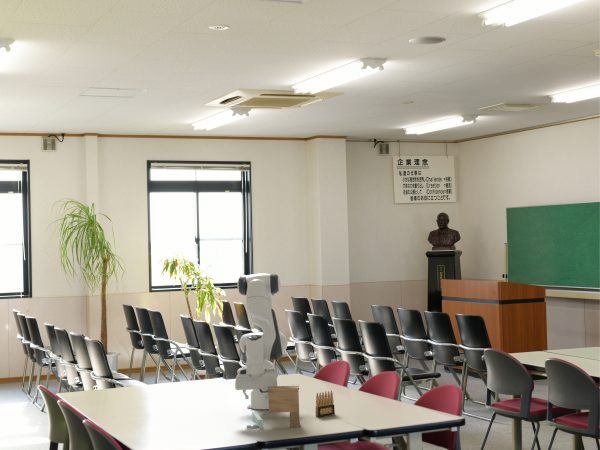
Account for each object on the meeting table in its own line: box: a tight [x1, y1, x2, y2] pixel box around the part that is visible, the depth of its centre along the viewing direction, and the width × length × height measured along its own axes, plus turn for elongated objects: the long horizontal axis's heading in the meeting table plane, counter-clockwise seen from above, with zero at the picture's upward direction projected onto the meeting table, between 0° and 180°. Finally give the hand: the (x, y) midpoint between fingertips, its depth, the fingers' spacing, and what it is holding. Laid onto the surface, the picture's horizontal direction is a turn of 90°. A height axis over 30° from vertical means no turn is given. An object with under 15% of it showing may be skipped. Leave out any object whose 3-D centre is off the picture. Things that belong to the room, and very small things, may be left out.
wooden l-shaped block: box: [268, 385, 301, 428], centre depth 419 cm, size 7×15×18 cm, turn 91°
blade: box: [251, 411, 264, 429], centre depth 426 cm, size 22×2×4 cm, turn 11°
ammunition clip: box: [315, 390, 336, 419], centre depth 440 cm, size 11×2×12 cm, turn 127°
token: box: [246, 424, 258, 429], centre depth 417 cm, size 5×5×1 cm
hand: (256, 398), depth 427 cm, fingers open, 8 cm apart
